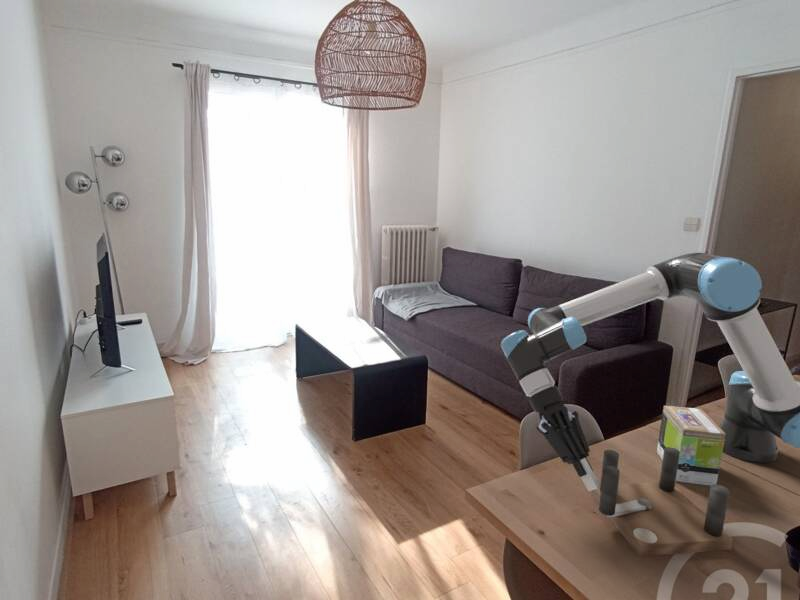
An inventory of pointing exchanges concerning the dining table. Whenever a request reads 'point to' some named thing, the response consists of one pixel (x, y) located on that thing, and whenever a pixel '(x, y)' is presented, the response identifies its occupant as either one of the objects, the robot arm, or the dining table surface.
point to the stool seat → (669, 513)
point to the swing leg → (610, 496)
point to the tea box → (692, 444)
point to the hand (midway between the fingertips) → (594, 489)
